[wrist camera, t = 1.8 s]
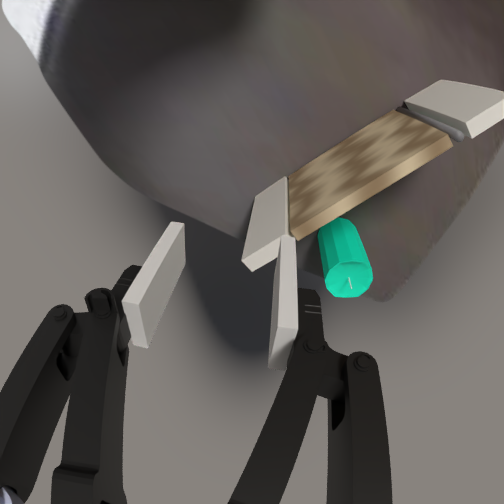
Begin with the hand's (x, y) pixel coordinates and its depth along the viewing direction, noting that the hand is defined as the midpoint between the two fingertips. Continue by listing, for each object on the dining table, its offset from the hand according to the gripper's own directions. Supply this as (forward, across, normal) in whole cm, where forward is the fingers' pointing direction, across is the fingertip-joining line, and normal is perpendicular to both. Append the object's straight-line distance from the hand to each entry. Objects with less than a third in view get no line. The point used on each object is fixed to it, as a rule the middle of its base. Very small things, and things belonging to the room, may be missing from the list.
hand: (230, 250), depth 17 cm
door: (+24, +11, +1) cm, 27 cm away
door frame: (+25, +12, +3) cm, 28 cm away
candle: (+25, +12, -12) cm, 30 cm away
